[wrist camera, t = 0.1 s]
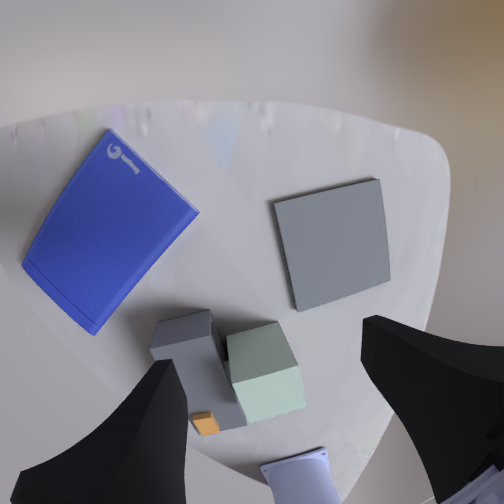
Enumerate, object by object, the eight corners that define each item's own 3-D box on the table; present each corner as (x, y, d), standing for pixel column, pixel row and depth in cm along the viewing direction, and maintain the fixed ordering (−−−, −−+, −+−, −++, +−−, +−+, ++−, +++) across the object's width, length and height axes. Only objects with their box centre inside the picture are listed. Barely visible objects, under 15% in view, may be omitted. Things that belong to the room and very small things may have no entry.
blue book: (108, 126, 15) (19, 265, 16) (200, 213, 17) (93, 338, 18) (116, 130, 16) (29, 260, 17) (201, 209, 18) (100, 328, 20)
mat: (387, 278, 21) (390, 280, 21) (296, 310, 21) (298, 312, 20) (376, 179, 19) (379, 179, 18) (273, 203, 18) (274, 203, 18)
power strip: (243, 395, 22) (249, 430, 18) (198, 405, 22) (198, 440, 18) (210, 308, 20) (211, 340, 16) (157, 322, 19) (147, 354, 15)
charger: (288, 360, 22) (308, 406, 17) (219, 379, 21) (223, 428, 16) (279, 320, 21) (299, 364, 15) (203, 341, 20) (202, 390, 15)
